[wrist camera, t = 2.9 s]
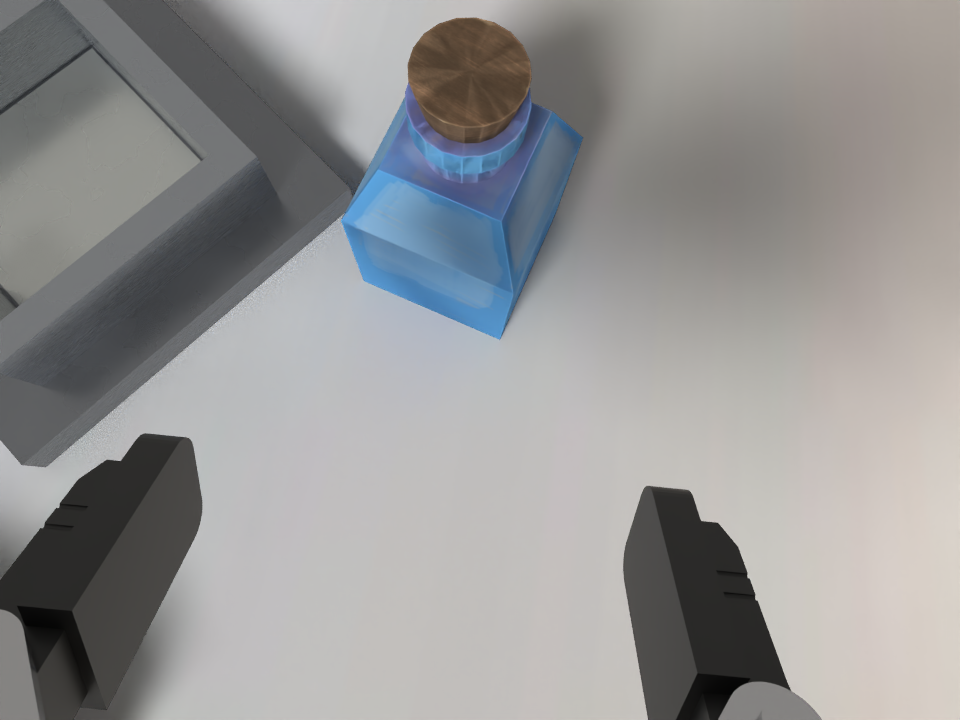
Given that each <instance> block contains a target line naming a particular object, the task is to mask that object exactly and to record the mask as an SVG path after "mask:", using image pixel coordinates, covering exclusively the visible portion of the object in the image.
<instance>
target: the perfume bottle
mask: <svg viewBox="0 0 960 720" xmlns="http://www.w3.org/2000/svg"><path fill="white" fill-rule="evenodd" d="M531 79H532V78H531V67H530V60H529V58H528V56H527V54H526V51H525V49H524V47H523V45H522V44H521V43H520V42H519V41H518V40H517V39H516V37H515V36H514V35H513V34H512V33H511V32H510V31H508V30H506V29H505V28H503V27H501V26H500V25H498V24H496V23H494V22H491V21H487V20H483V19H479V18H455V19H452V20H449V21H446V22H443V23H440V24H438V25H436V26H435V27H433V28H432V29H430V30H429V31H427V32H426V33H424V34H423V36H422V37H421V38H420V40H419V41H418V42H417V44H416V45H415V46H414V47H413V50H412V53H411V56H410V59H409V62H408V81H409V82H408V85H407V88H406V91H405V98H404V100H403V102H402V104H401V106H400V108H399V110H398V112H397V114H396V116H395V118H394V119H393V121H392V123H391V125H390V127H389V129H388V131H387V133H386V135H385V137H384V139H383V141H382V143H381V145H380V146H379V148H378V150H377V152H376V154H375V156H374V158H373V160H372V162H371V164H370V166H369V168H368V170H367V172H366V174H365V175H364V177H363V179H362V181H361V183H360V185H359V187H358V189H357V191H356V193H355V195H354V197H353V199H352V201H351V202H350V204H349V206H348V208H347V210H346V212H345V214H344V216H343V218H342V220H341V222H342V224H343V227H344V230H345V232H346V235H347V238H348V240H349V243H350V246H351V248H352V251H353V253H354V256H355V259H356V261H357V264H358V267H359V269H360V272H361V275H362V277H363V280H364V281H365V282H368V283H370V284H372V285H375V286H377V287H379V288H382V289H384V290H386V291H389V292H391V293H393V294H395V295H398V296H400V297H402V298H405V299H407V300H409V301H412V302H414V303H416V304H419V305H421V306H423V307H425V308H428V309H430V310H432V311H435V312H437V313H439V314H442V315H444V316H446V317H449V318H451V319H453V320H456V321H458V322H460V323H462V324H465V325H467V326H469V327H472V328H474V329H476V330H479V331H481V332H483V333H486V334H488V335H490V336H493V337H495V338H497V339H499V340H500V338H501V336H502V333H503V331H504V329H505V327H506V324H507V322H508V320H509V318H510V315H511V313H512V311H513V308H514V306H515V304H516V302H517V299H518V297H519V295H520V293H521V290H522V288H523V286H524V284H525V281H526V279H527V277H528V275H529V272H530V270H531V268H532V266H533V263H534V261H535V259H536V256H537V254H538V252H539V250H540V247H541V245H542V243H543V241H544V238H545V236H546V234H547V232H548V229H549V227H550V225H551V223H552V220H553V218H554V216H555V213H556V211H557V208H558V205H559V203H560V200H561V197H562V194H563V192H564V189H565V186H566V183H567V181H568V178H569V175H570V172H571V170H572V167H573V164H574V161H575V159H576V156H577V153H578V150H579V148H580V145H581V142H582V139H583V137H581V136H580V135H579V134H578V133H577V132H576V131H575V130H573V129H572V128H571V127H570V126H569V125H568V124H566V123H565V122H564V121H563V120H562V119H561V118H559V117H558V116H557V115H556V114H555V113H554V112H553V111H551V110H548V109H546V108H543V107H541V106H539V105H536V104H534V103H531V96H530V88H529V86H530V82H531Z"/></svg>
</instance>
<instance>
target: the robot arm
mask: <svg viewBox="0 0 960 720" xmlns="http://www.w3.org/2000/svg"><path fill="white" fill-rule="evenodd" d="M201 516H202V496H201V490H200V484H199V478H198V472H197V466H196V460H195V454H194V448H193V444H192V442H191V440H190V439H189V438H186V437H176V436H166V435H156V434H142V435H140V436H139V437H138V438H137V440H136V441H135V442H134V444H133V445H132V446H131V448H130V449H129V451H128V452H127V453H126V455H125V456H124V457H123V459H122V460H121V461H114V460H106V461H104V462H103V463H101V464H100V465H99V466H97V467H96V468H94V469H93V470H91V471H90V472H88V473H87V474H86V475H84V476H83V477H81V478H80V479H78V481H77V482H76V483H75V484H74V486H73V487H72V488H71V490H70V491H69V492H68V494H67V495H66V496H65V497H64V499H63V500H62V501H61V503H60V507H59V508H56V509H55V510H54V512H53V513H52V514H51V515H50V517H49V518H48V519H47V521H46V522H45V526H44V528H43V529H42V528H40V530H39V531H38V532H37V534H36V535H35V536H34V537H33V539H32V540H31V541H30V543H29V544H28V545H27V547H26V548H25V549H24V550H23V552H22V553H21V554H20V556H19V557H18V558H17V559H16V561H15V562H14V563H13V565H12V566H11V567H10V568H9V570H8V571H7V572H6V574H5V575H4V576H3V578H2V579H1V580H0V720H73V719H74V717H75V715H76V713H77V712H78V710H79V708H80V707H82V708H92V709H103V710H107V708H108V706H109V704H110V702H111V700H112V698H113V697H114V695H115V693H116V691H117V689H118V687H119V685H120V683H121V681H122V679H123V677H124V675H125V673H126V671H127V669H128V667H129V665H130V663H131V661H132V659H133V657H134V656H135V654H136V652H137V650H138V648H139V646H140V644H141V642H142V640H143V638H144V636H145V634H146V632H147V630H148V628H149V626H150V624H151V622H152V620H153V618H154V616H155V614H156V613H157V611H158V609H159V607H160V605H161V603H162V601H163V599H164V597H165V595H166V593H167V591H168V589H169V587H170V585H171V583H172V581H173V579H174V577H175V575H176V573H177V572H178V570H179V568H180V566H181V564H182V562H183V560H184V558H185V556H186V554H187V552H188V550H189V548H190V546H191V544H192V542H193V540H194V538H195V536H196V534H197V531H198V528H199V525H200V521H201ZM623 571H624V582H625V588H626V593H627V599H628V605H629V611H630V617H631V622H632V628H633V634H634V640H635V646H636V651H637V657H638V663H639V669H640V675H641V680H642V686H643V692H644V698H645V704H646V709H647V715H648V720H822V719H821V718H820V716H819V715H818V714H817V713H816V712H815V710H814V709H813V708H812V707H811V706H810V705H809V704H808V703H807V702H806V701H804V700H803V699H802V698H801V697H799V696H798V695H796V694H795V693H793V692H792V691H791V690H790V687H789V685H788V683H787V680H786V678H785V675H784V672H783V669H782V667H781V664H780V661H779V658H778V656H777V653H776V650H775V647H774V645H773V642H772V639H771V636H770V634H769V631H768V628H767V625H766V623H765V620H764V617H763V614H762V612H761V609H760V606H759V603H758V601H756V600H755V592H754V590H753V587H752V584H751V581H750V579H748V578H747V574H748V573H747V570H746V568H745V565H744V562H743V559H742V557H741V554H740V551H739V548H738V546H737V545H736V544H735V543H734V542H733V540H732V539H731V538H730V537H729V536H728V534H727V533H726V532H725V531H724V530H723V528H722V527H721V526H720V525H719V524H718V523H714V522H704V521H701V520H700V517H699V514H698V511H697V508H696V504H695V501H694V498H693V495H692V494H691V492H690V491H689V490H683V489H673V488H663V487H653V486H646V487H645V488H644V490H643V492H642V494H641V498H640V501H639V504H638V507H637V510H636V513H635V517H634V520H633V523H632V526H631V529H630V533H629V536H628V539H627V542H626V546H625V552H624V563H623Z"/></svg>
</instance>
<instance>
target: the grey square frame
mask: <svg viewBox="0 0 960 720" xmlns="http://www.w3.org/2000/svg"><path fill="white" fill-rule="evenodd" d="M352 199H353V196H352V193H351V190H350V188H349V187H348V186H347V185H346V184H345V183H344V182H343V181H342V180H341V179H340V178H339V177H338V176H337V175H336V174H335V173H334V172H333V171H332V170H331V169H330V168H329V167H328V166H327V165H326V164H325V163H324V162H323V161H322V160H321V159H320V158H319V157H318V156H317V155H316V153H315V152H314V151H313V150H312V149H311V148H310V147H309V146H308V145H307V144H306V143H305V142H304V141H303V140H302V139H301V138H300V137H299V136H298V135H297V134H296V133H295V132H294V131H293V130H292V129H291V128H290V127H289V126H288V125H287V124H286V123H285V122H284V121H283V120H282V119H281V118H280V117H279V116H278V115H277V114H276V113H275V112H274V111H273V110H272V109H271V108H270V107H269V106H268V105H267V104H266V103H265V102H264V101H263V100H262V99H261V98H260V97H259V96H258V95H257V94H256V93H255V92H254V91H253V90H252V89H251V88H250V87H249V86H248V85H247V84H246V83H245V82H244V81H243V80H242V79H241V78H240V77H239V76H238V75H237V74H236V73H235V72H234V71H233V70H232V69H231V68H230V67H229V66H228V65H227V64H226V63H225V62H224V61H223V60H222V59H221V58H220V57H219V56H218V55H217V54H216V53H215V52H214V51H213V50H212V49H211V48H210V47H209V46H208V45H207V44H206V43H205V42H204V41H203V40H202V39H201V38H200V37H199V36H198V35H197V34H196V33H195V32H194V31H193V30H192V29H191V28H190V27H189V26H188V25H187V24H186V23H185V22H184V21H183V20H182V19H181V18H180V17H179V16H178V15H177V14H176V13H175V12H174V11H173V10H172V9H171V8H170V7H169V6H168V5H167V4H166V3H165V2H164V1H163V0H0V440H1V441H2V442H3V444H4V445H5V446H6V447H7V448H8V449H9V451H10V452H11V453H12V454H13V455H14V456H15V458H16V459H17V460H18V461H19V462H20V463H21V465H27V466H38V467H46V466H48V465H49V464H50V463H51V462H52V461H53V460H55V459H56V458H57V457H58V456H59V455H60V454H62V453H63V452H64V451H65V450H66V449H67V448H69V447H70V446H71V445H72V444H73V443H75V442H76V441H77V440H78V439H79V438H80V437H82V436H83V435H84V434H85V433H86V432H87V431H89V430H90V429H91V428H92V427H93V426H94V425H96V424H97V423H98V422H99V421H100V420H102V419H103V418H104V417H105V416H106V415H107V414H109V413H110V412H111V411H112V410H113V409H114V408H116V407H117V406H118V405H119V404H120V403H122V402H123V401H124V400H125V399H126V398H127V397H129V396H130V395H131V394H132V393H133V392H134V391H136V390H137V389H138V388H139V387H140V386H141V385H143V384H144V383H145V382H146V381H147V380H149V379H150V378H151V377H152V376H153V375H154V374H156V373H157V372H158V371H159V370H160V369H161V368H163V367H164V366H165V365H166V364H167V363H169V362H170V361H171V360H172V359H173V358H174V357H176V356H177V355H178V354H179V353H180V352H181V351H183V350H184V349H185V348H186V347H187V346H188V345H190V344H191V343H192V342H193V341H194V340H196V339H197V338H198V337H199V336H200V335H201V334H203V333H204V332H205V331H206V330H207V329H208V328H210V327H211V326H212V325H213V324H214V323H215V322H217V321H218V320H219V319H220V318H221V317H223V316H224V315H225V314H226V313H227V312H228V311H230V310H231V309H232V308H233V307H234V306H235V305H237V304H238V303H239V302H240V301H241V300H243V299H244V298H245V297H246V296H247V295H248V294H250V293H251V292H252V291H253V290H254V289H255V288H257V287H258V286H259V285H260V284H261V283H262V282H264V281H265V280H266V279H267V278H268V277H270V276H271V275H272V274H273V273H274V272H275V271H277V270H278V269H279V268H280V267H281V266H282V265H284V264H285V263H286V262H287V261H288V260H289V259H291V258H292V257H293V256H294V255H295V254H297V253H298V252H299V251H300V250H301V249H302V248H304V247H305V246H306V245H307V244H308V243H309V242H311V241H312V240H313V239H314V238H315V237H317V236H318V235H319V234H320V233H321V232H322V231H324V230H325V229H326V228H327V227H328V226H329V225H331V224H332V223H333V222H334V221H335V220H336V219H338V218H339V217H340V216H341V215H342V214H344V213H345V212H346V210H347V208H348V206H349V204H350V202H351V201H352Z"/></svg>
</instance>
